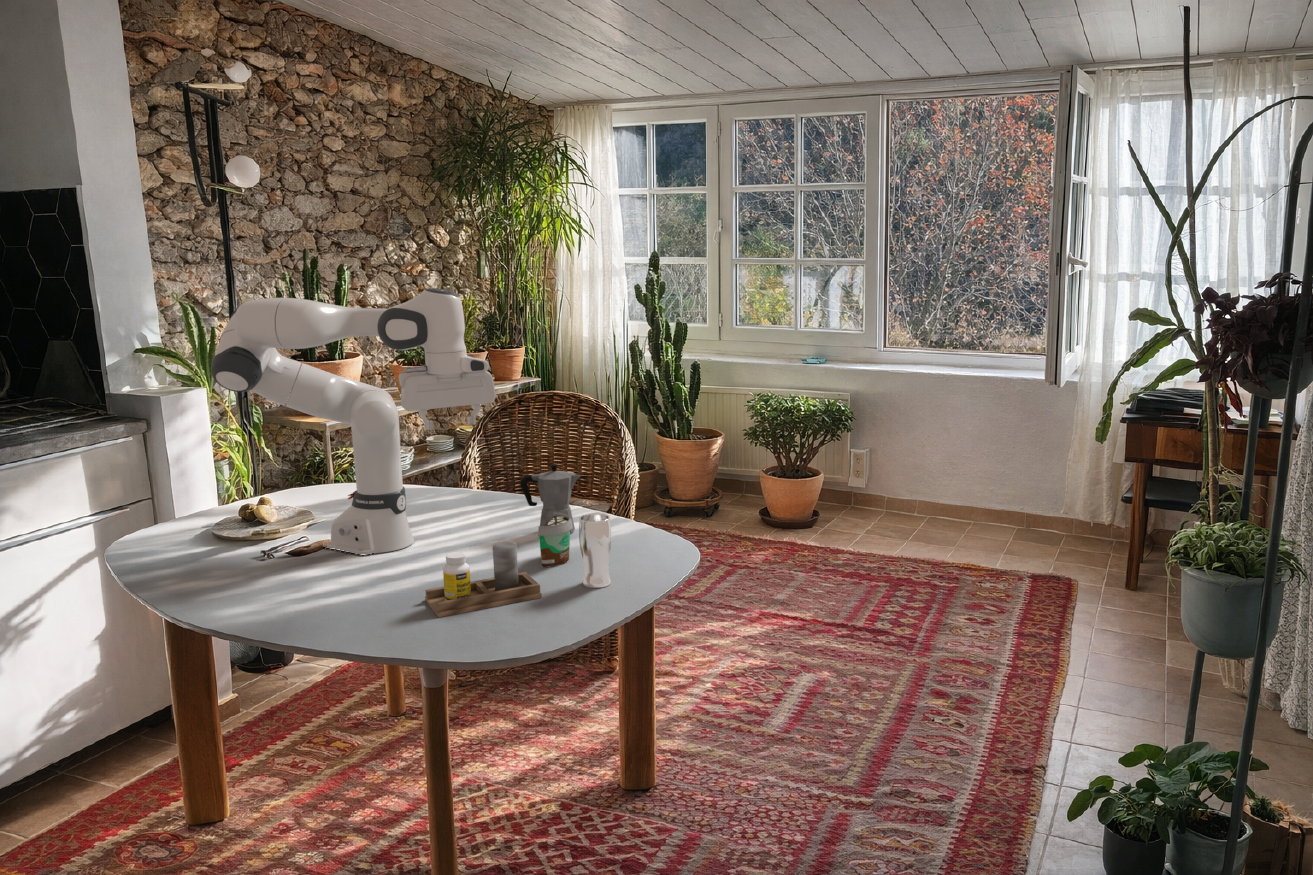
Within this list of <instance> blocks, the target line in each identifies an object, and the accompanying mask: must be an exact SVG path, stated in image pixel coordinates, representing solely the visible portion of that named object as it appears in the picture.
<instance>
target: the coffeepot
mask: <svg viewBox="0 0 1313 875" xmlns="http://www.w3.org/2000/svg"><path fill="white" fill-rule="evenodd" d="M550 466H551V470H549V471H546V472H545V471H544V472H540V473H539V474H537V473H536V474H526V475H524V476H523V478H522V479H521V480H520V482H519V485H520V488H521V490H522V492H523V495H524V496H525V499H526V502H527V504H528V506H529V507H537V505H538V502H535V501H533V500H532V499H533V498H532V495H531V493H530V489H529V486H528V483H537V488H538V493H539V498H540V501H541V502H542V509H541V514H540V523H539V526H544V525H545V523H546V522H547V521H548V520H551V519H552V518H553V513H562V514H566V515H568V516H569V517H570V519H571V521H572V525H573V528H572V529H571V530H570V535H572V534H574V532H575V530H576V527H575V523H574V518H573V515H572V509H571V506H570V500H571V499H572V497H571V496H572V490H573V488H574V486H575V484H576V482H577V480H578V479H580V478H581V476H582V475H580V474H579V473H575V472H568V471H564V470H563V471H562V470H558V464H557V463H556V464H555V463H552V464H551V465H550Z"/></svg>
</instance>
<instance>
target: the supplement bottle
mask: <svg viewBox="0 0 1313 875" xmlns="http://www.w3.org/2000/svg"><path fill="white" fill-rule="evenodd" d="M445 561H446V562H445V563H446V564H445V565H444V566H443V568H442V571H443V572H442V574H443V575H442V576H443V587H444V594H445V601H446V600H452V599H457V598H462V597H468V596H471V584H470V582H471V570H470V565H469V564H468V563H467V562H466V561H467V559H466V553H464V552H459V551H456V552H455V551H453V552H449V553H448V554H446V555H445Z"/></svg>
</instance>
